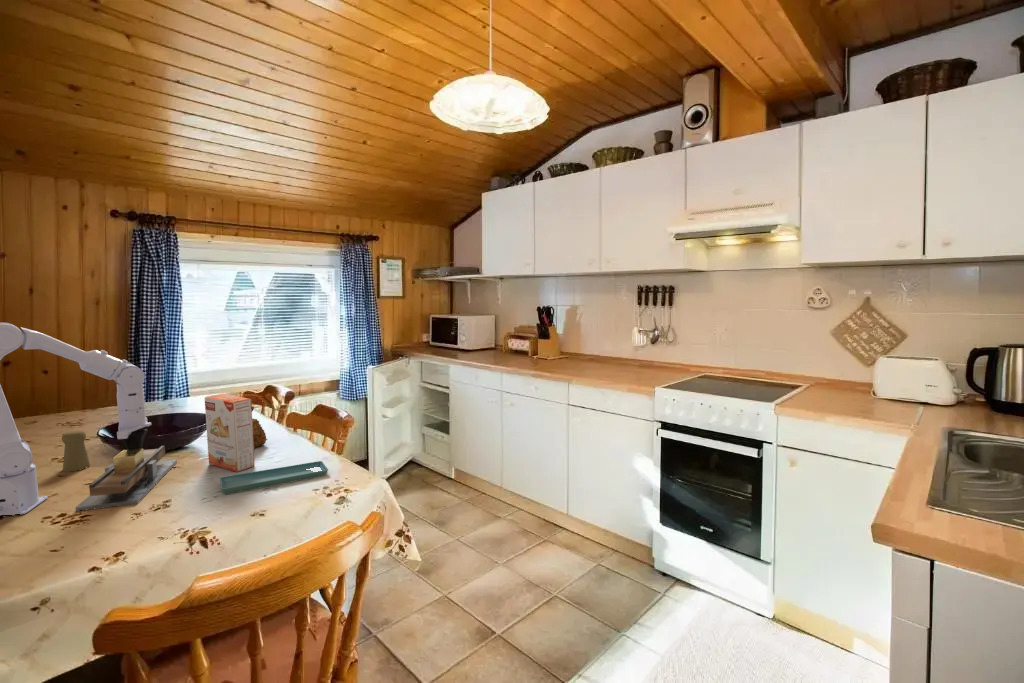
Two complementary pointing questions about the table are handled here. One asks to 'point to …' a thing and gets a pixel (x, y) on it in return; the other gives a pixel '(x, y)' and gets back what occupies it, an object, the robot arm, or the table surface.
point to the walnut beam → (124, 476)
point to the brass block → (128, 460)
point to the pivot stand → (135, 492)
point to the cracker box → (229, 432)
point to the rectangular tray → (270, 477)
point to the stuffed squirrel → (258, 433)
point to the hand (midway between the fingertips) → (135, 457)
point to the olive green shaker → (75, 451)
